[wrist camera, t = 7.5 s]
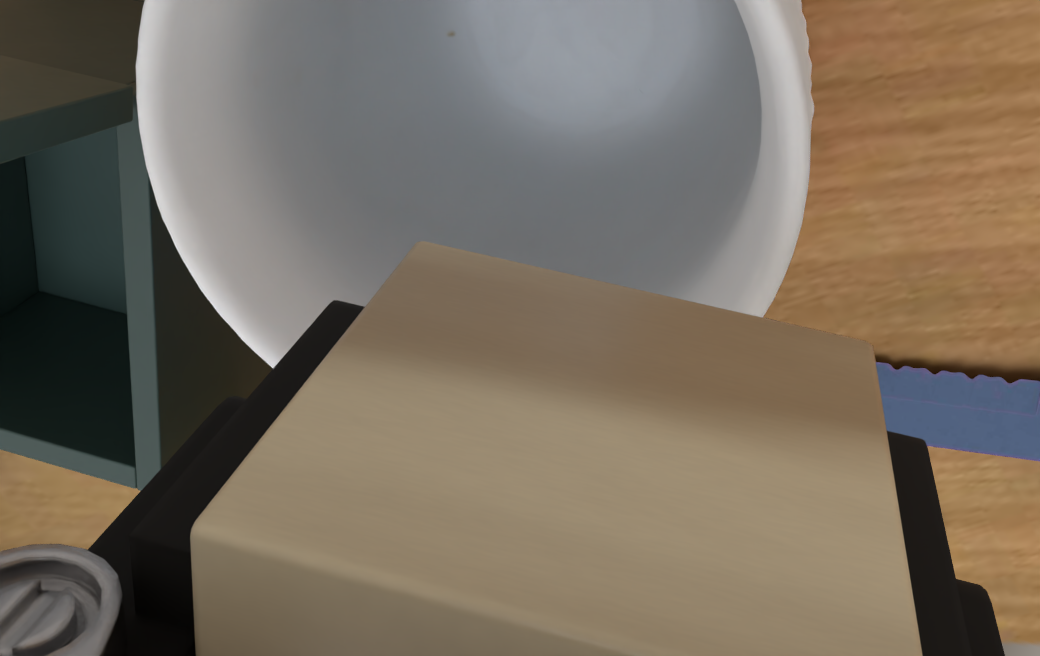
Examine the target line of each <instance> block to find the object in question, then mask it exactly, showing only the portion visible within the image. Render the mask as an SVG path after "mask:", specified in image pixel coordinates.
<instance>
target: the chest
mask: <svg viewBox="0 0 1040 656" xmlns="http://www.w3.org/2000/svg"><path fill="white" fill-rule="evenodd" d="M144 1H145V0H0V55H2V56H7V57H11V58H15V59H19V60H24V61H28V62H32V63H36V64H41V65H45V66H49V67H54V68H58V69H62V70H66V71H71V72H75V73H79V74H84V75H88V76H92V77H96V78H101V79H105V80H109V81H113V82H118V83H122V84H126V85H131V86H132V87H133V120H132V121H131V122H128V123H125V124H122V125H119V126H116V127H113V128H110V129H107V130H103V131H100V132H97V133H94V134H91V135H88V136H85V137H82V138H79V139H76V140H73V141H69V142H66V143H63V144H60V145H57V146H54V147H51V148H48V149H45V150H42V151H39V152H35V153H32V154H29V155H26V156H23V157H20V158H17V159H14V160H11V161H8V162H4V163H1V164H0V449H1V450H4V451H8V452H11V453H15V454H18V455H22V456H25V457H28V458H32V459H35V460H39V461H42V462H46V463H49V464H52V465H56V466H59V467H63V468H66V469H70V470H73V471H76V472H80V473H83V474H87V475H90V476H94V477H97V478H100V479H104V480H107V481H111V482H114V483H118V484H121V485H124V486H128V487H131V488H137V489H138V490H142V489H143V488H144V487H145V486H146V485H147V484H148V483H149V482H150V481H151V479H152V478H153V477H154V476H155V475H156V474H157V473H158V472H159V471H160V469H161V468H162V467H163V466H164V465H165V464H166V463H167V462H168V461H169V459H170V458H171V457H172V456H173V455H174V454H175V453H176V452H177V451H178V449H179V448H180V447H181V446H182V445H183V444H184V443H185V442H186V441H187V440H188V438H189V437H190V436H191V435H192V434H193V433H194V432H195V431H196V430H197V428H198V427H199V426H200V425H201V424H202V423H203V422H204V421H205V420H206V418H207V417H208V416H209V415H210V414H211V413H212V412H213V411H214V410H215V408H216V407H217V406H218V405H219V404H221V403H222V402H223V401H224V400H225V399H227V398H228V397H233V396H238V397H242V398H246V399H247V398H248V397H249V396H250V395H251V393H252V392H253V391H254V390H255V389H256V388H257V387H258V385H259V384H260V383H261V382H262V381H263V380H264V378H265V377H266V376H267V375H268V374H269V373H270V372H271V370H272V369H273V368H272V367H271V366H270V365H269V364H268V363H266V362H265V361H264V360H263V359H262V358H261V357H260V356H259V355H257V354H256V353H255V352H254V351H253V350H252V349H251V348H250V347H249V346H248V345H247V344H246V343H245V342H244V341H243V340H242V339H241V338H240V337H239V336H238V334H237V333H236V332H235V331H234V330H233V329H232V328H231V327H230V325H229V324H228V323H227V322H226V321H225V320H224V319H223V318H222V317H221V316H220V314H219V313H218V312H217V311H216V309H215V308H214V307H213V305H212V304H211V303H210V302H209V300H208V299H207V298H206V296H205V295H204V294H203V292H202V291H201V290H200V288H199V286H198V285H197V283H196V281H195V280H194V278H193V277H192V275H191V273H190V272H189V270H188V268H187V267H186V265H185V263H184V262H183V260H182V258H181V256H180V254H179V252H178V251H177V249H176V247H175V245H174V242H173V240H172V238H171V235H170V233H169V231H168V229H167V227H166V225H165V223H164V221H163V219H162V216H161V213H160V211H159V208H158V205H157V202H156V199H155V195H154V192H153V188H152V185H151V181H150V178H149V174H148V171H147V168H146V163H145V158H144V152H143V147H142V141H141V136H140V130H139V121H138V110H137V99H136V59H137V51H138V36H139V29H140V22H141V15H142V9H143V5H144Z"/></svg>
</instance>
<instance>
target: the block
mask: <svg viewBox="0 0 1040 656" xmlns="http://www.w3.org/2000/svg"><path fill="white" fill-rule="evenodd" d="M190 544H191V565H192V586H193V607H194V629H195V650H196V656H923V655H922V649H921V643H920V636H919V630H918V624H917V618H916V611H915V605H914V599H913V593H912V586H911V580H910V574H909V568H908V561H907V555H906V549H905V543H904V536H903V530H902V524H901V518H900V511H899V505H898V499H897V493H896V486H895V480H894V474H893V468H892V461H891V455H890V449H889V443H888V436H887V430H886V424H885V418H884V411H883V405H882V399H881V393H880V386H879V380H878V374H877V368H876V361H875V355H874V349H873V345H871V344H870V343H868V342H866V341H864V340H859V339H855V338H851V337H846V336H842V335H837V334H833V333H829V332H824V331H820V330H815V329H811V328H806V327H802V326H798V325H793V324H789V323H784V322H780V321H775V320H771V319H767V318H762V317H758V316H753V315H749V314H745V313H740V312H736V311H731V310H727V309H722V308H718V307H714V306H709V305H705V304H700V303H696V302H691V301H687V300H683V299H678V298H674V297H669V296H665V295H661V294H656V293H652V292H647V291H643V290H638V289H634V288H630V287H625V286H621V285H616V284H612V283H608V282H603V281H599V280H594V279H590V278H585V277H581V276H577V275H572V274H568V273H563V272H559V271H554V270H550V269H546V268H541V267H537V266H532V265H528V264H524V263H519V262H515V261H510V260H506V259H501V258H497V257H493V256H488V255H484V254H479V253H475V252H470V251H466V250H462V249H457V248H453V247H448V246H444V245H440V244H435V243H431V242H426V241H420V242H416V243H415V245H414V246H413V247H412V248H411V250H410V251H409V252H408V253H407V255H406V256H405V257H404V258H403V260H402V261H401V262H400V263H399V265H398V266H397V267H396V269H395V270H394V271H393V272H392V274H391V275H390V276H389V277H388V279H387V280H386V281H385V282H384V284H383V285H382V286H381V287H380V289H379V290H378V291H377V292H376V294H375V295H374V296H373V298H372V299H371V300H370V301H369V303H368V304H367V305H366V306H365V308H364V309H363V310H362V311H361V313H360V314H359V315H358V316H357V318H356V319H355V320H354V321H353V323H352V324H351V325H350V327H349V328H348V329H347V330H346V332H345V333H344V334H343V335H342V337H341V338H340V339H339V340H338V342H337V343H336V344H335V345H334V347H333V348H332V349H331V350H330V352H329V353H328V354H327V355H326V357H325V358H324V359H323V361H322V362H321V363H320V364H319V366H318V367H317V368H316V369H315V371H314V372H313V373H312V374H311V376H310V377H309V378H308V379H307V381H306V382H305V383H304V384H303V386H302V387H301V388H300V390H299V391H298V392H297V393H296V395H295V396H294V397H293V398H292V400H291V401H290V402H289V403H288V405H287V406H286V407H285V408H284V410H283V411H282V412H281V413H280V415H279V416H278V417H277V419H276V420H275V421H274V422H273V424H272V425H271V426H270V427H269V429H268V430H267V431H266V432H265V434H264V435H263V436H262V437H261V439H260V440H259V441H258V442H257V444H256V445H255V446H254V448H253V449H252V450H251V451H250V453H249V454H248V455H247V456H246V458H245V459H244V460H243V461H242V463H241V464H240V465H239V466H238V468H237V469H236V470H235V471H234V473H233V474H232V475H231V477H230V478H229V479H228V480H227V482H226V483H225V484H224V485H223V487H222V488H221V489H220V490H219V492H218V493H217V494H216V495H215V497H214V498H213V499H212V500H211V502H210V503H209V504H208V506H207V507H206V508H205V509H204V511H203V512H202V513H201V514H200V516H199V517H198V518H197V519H196V521H195V522H194V524H193V526H192V528H191V534H190Z"/></svg>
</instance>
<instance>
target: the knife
mask: <svg viewBox="0 0 1040 656" xmlns="http://www.w3.org/2000/svg"><path fill="white" fill-rule="evenodd" d="M876 368H877V374H878V380H879V386H880V393H881V399H882V405H883V411H884V418H885V424H886V430H887V431H891V432H895V433H899V434H903V435H908V436H912V437H916V438H920V439H923V440H925V442H926V445H927V446H933V447H940V448H947V449H955V450H962V451H969V452H976V453H984V454H991V455H998V456H1005V457H1013V458H1020V459H1027V460H1034V461H1040V381H1034V380H1025V379H1019V380H1017V381H1015V382H1013V383H1007V382H1006V381H1005V380H1004V379H1003V378H1001V377H987V376H984V375H978V376H977V377H975V378H974V379H970V378H969V377H967V376H966V375H965V374H964V373H961V372H957V373H951V372H948V371H946V370H945V371H940V372H939V373H937V374H932V373H931V372H930V371H928V370H927V369H926V368H912V367H909V366H903V367H902V368H900V369H899V370H895V369H894V368H893V367H892V366H891V365H890V364H889V363H880V362H876Z"/></svg>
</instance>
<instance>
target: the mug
mask: <svg viewBox="0 0 1040 656" xmlns="http://www.w3.org/2000/svg"><path fill="white" fill-rule="evenodd" d="M806 24H807V23H806V20H805V17H804V15H803V13H802V3H801V0H145V1H144V5H143V9H142V15H141V22H140V29H139V36H138V51H137V59H136V99H137V110H138V121H139V130H140V136H141V141H142V147H143V152H144V158H145V163H146V168H147V171H148V174H149V178H150V181H151V185H152V188H153V192H154V195H155V199H156V202H157V205H158V208H159V211H160V213H161V216H162V219H163V221H164V223H165V225H166V227H167V229H168V231H169V233H170V235H171V238H172V240H173V242H174V245H175V247H176V249H177V251H178V252H179V254H180V256H181V258H182V260H183V262H184V263H185V265H186V267H187V268H188V270H189V272H190V273H191V275H192V277H193V278H194V280H195V281H196V283H197V285H198V286H199V288H200V290H201V291H202V292H203V294H204V295H205V296H206V298H207V299H208V300H209V302H210V303H211V304H212V305H213V307H214V308H215V309H216V311H217V312H218V313H219V314H220V316H221V317H222V318H223V319H224V320H225V321H226V322H227V323H228V324H229V325H230V327H231V328H232V329H233V330H234V331H235V332H236V333H237V334H238V336H239V337H240V338H241V339H242V340H243V341H244V342H245V343H246V344H247V345H248V346H249V347H250V348H251V349H252V350H253V351H254V352H255V353H256V354H257V355H259V356H260V357H261V358H262V359H263V360H264V361H265V362H266V363H268V364H269V365H270V366H271V367H272V368H274V367H275V366H276V365H277V363H278V362H279V361H280V360H281V359H282V358H283V357H284V355H285V354H286V353H287V352H288V351H289V350H290V348H291V347H292V346H293V345H294V344H295V343H296V342H297V340H298V339H299V338H300V337H301V336H302V335H303V333H304V332H305V331H306V330H307V329H308V328H309V327H310V325H311V324H312V323H313V322H314V321H315V320H316V318H317V317H318V316H319V315H320V314H321V313H322V312H323V310H324V309H325V308H326V307H327V306H328V305H329V304H330V303H331V302H332V301H333V300H339V301H343V302H347V303H351V304H356V305H360V306H364V307H365V306H366V305H367V304H368V303H369V301H370V300H371V299H372V298H373V296H374V295H375V294H376V292H377V291H378V290H379V289H380V287H381V286H382V285H383V284H384V282H385V281H386V280H387V279H388V277H389V276H390V275H391V274H392V272H393V271H394V270H395V269H396V267H397V266H398V265H399V263H400V262H401V261H402V260H403V258H404V257H405V256H406V255H407V253H408V252H409V251H410V250H411V248H412V247H413V246H414V245H415V243H416V242H420V241H426V242H431V243H435V244H440V245H444V246H448V247H453V248H457V249H462V250H466V251H470V252H475V253H479V254H484V255H488V256H493V257H497V258H501V259H506V260H510V261H515V262H519V263H524V264H528V265H532V266H537V267H541V268H546V269H550V270H554V271H559V272H563V273H568V274H572V275H577V276H581V277H585V278H590V279H594V280H599V281H603V282H608V283H612V284H616V285H621V286H625V287H630V288H634V289H638V290H643V291H647V292H652V293H656V294H661V295H665V296H669V297H674V298H678V299H683V300H687V301H691V302H696V303H700V304H705V305H709V306H714V307H718V308H722V309H727V310H731V311H736V312H740V313H745V314H749V315H753V316H758V317H762V318H763V316H764V315H765V313H766V311H767V310H768V308H769V306H770V305H771V303H772V301H773V300H774V298H775V296H776V293H777V291H778V289H779V287H780V285H781V283H782V281H783V279H784V276H785V274H786V271H787V269H788V266H789V264H790V261H791V258H792V256H793V253H794V249H795V246H796V242H797V239H798V236H799V232H800V229H801V225H802V221H803V215H804V209H805V203H806V197H807V191H808V183H809V174H810V144H811V125H812V124H811V122H812V118H813V114H814V103H813V100H812V96H811V87H812V82H811V71H812V63H811V60H810V57H809V54H808V50H809V38H808V35H807V33H806Z"/></svg>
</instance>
